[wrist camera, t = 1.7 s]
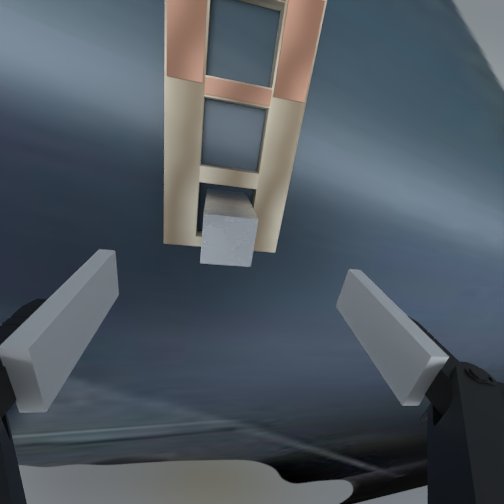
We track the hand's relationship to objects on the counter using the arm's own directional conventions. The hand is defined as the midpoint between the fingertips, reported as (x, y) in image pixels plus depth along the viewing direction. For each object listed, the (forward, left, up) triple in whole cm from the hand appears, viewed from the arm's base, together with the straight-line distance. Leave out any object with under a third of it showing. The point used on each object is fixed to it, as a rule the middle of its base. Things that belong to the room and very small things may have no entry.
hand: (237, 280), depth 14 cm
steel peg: (0, 0, -14) cm, 14 cm away
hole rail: (0, +7, -14) cm, 16 cm away
